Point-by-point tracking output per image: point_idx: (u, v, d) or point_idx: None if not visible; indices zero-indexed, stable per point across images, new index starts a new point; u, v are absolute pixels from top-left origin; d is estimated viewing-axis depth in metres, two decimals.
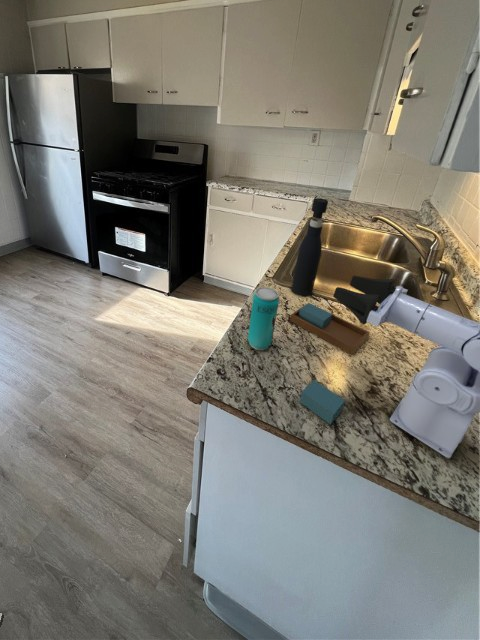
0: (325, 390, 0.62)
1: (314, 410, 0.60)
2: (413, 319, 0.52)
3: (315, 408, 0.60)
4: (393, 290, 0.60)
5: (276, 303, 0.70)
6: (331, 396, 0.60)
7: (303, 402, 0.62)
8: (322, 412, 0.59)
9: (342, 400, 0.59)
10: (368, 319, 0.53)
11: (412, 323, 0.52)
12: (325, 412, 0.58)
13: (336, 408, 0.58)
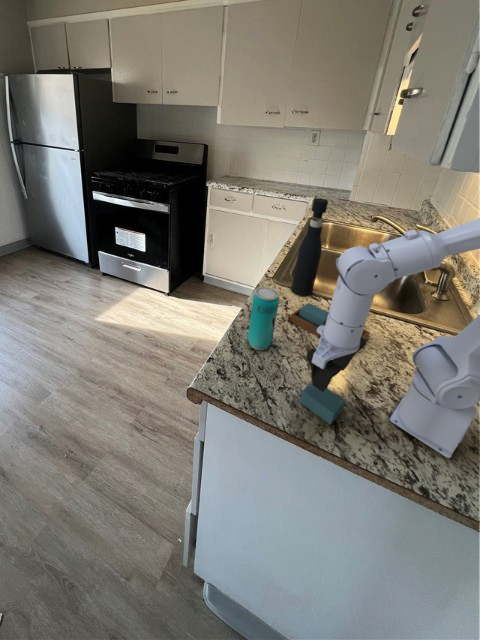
0: (325, 390, 0.62)
1: (314, 410, 0.60)
2: (333, 325, 0.51)
3: (315, 408, 0.60)
4: None
5: (276, 303, 0.70)
6: (331, 396, 0.60)
7: (303, 402, 0.62)
8: (322, 412, 0.59)
9: (342, 400, 0.59)
10: (319, 366, 0.50)
11: (337, 327, 0.51)
12: (325, 412, 0.58)
13: (336, 408, 0.58)
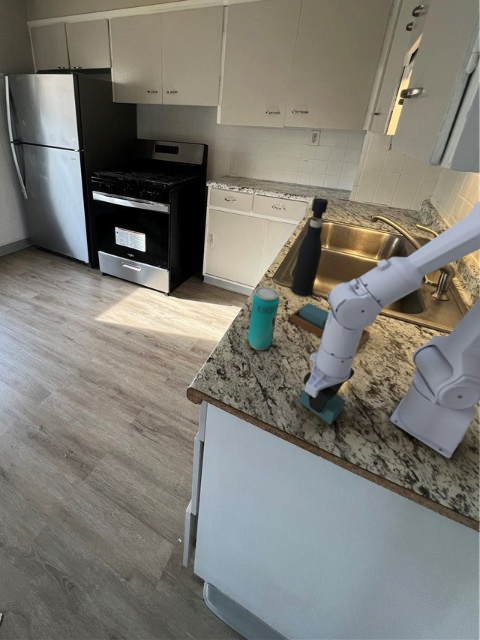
0: None
1: (314, 410, 0.60)
2: (325, 355, 0.54)
3: None
4: None
5: (276, 303, 0.70)
6: None
7: (303, 402, 0.62)
8: (322, 412, 0.59)
9: (342, 400, 0.59)
10: (311, 395, 0.53)
11: (329, 358, 0.54)
12: (325, 412, 0.58)
13: (336, 408, 0.58)
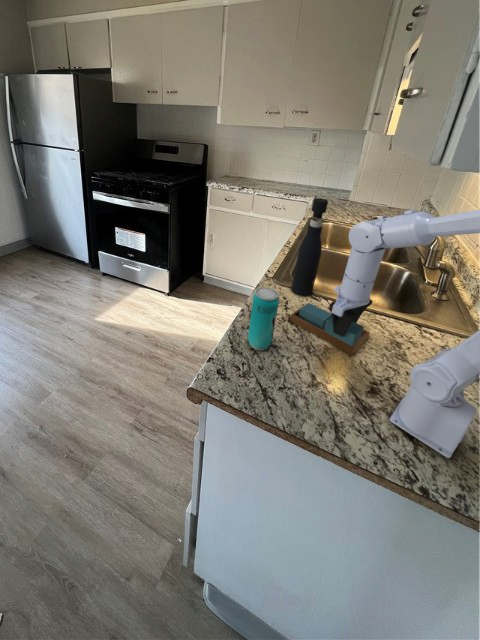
0: None
1: (337, 336, 0.69)
2: (349, 282, 0.63)
3: None
4: None
5: (276, 303, 0.70)
6: (351, 324, 0.69)
7: (327, 330, 0.71)
8: (344, 336, 0.68)
9: (361, 326, 0.69)
10: (338, 315, 0.62)
11: (352, 284, 0.63)
12: (347, 335, 0.67)
13: (357, 331, 0.67)
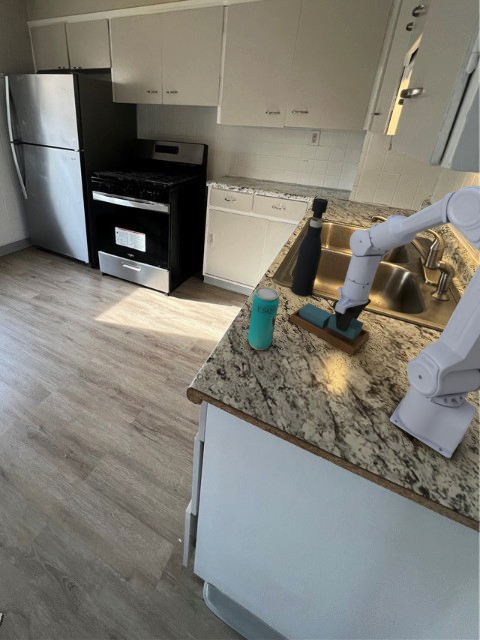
0: None
1: (339, 331, 0.78)
2: (350, 284, 0.72)
3: None
4: None
5: (276, 303, 0.70)
6: (352, 320, 0.78)
7: (330, 326, 0.80)
8: (346, 331, 0.77)
9: (361, 322, 0.78)
10: (340, 312, 0.71)
11: (353, 285, 0.72)
12: (348, 330, 0.76)
13: (357, 327, 0.76)
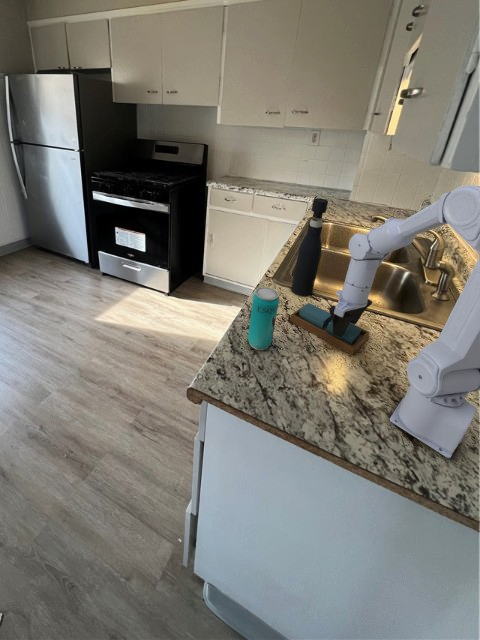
0: None
1: (338, 336, 0.79)
2: (349, 287, 0.73)
3: None
4: None
5: (276, 303, 0.70)
6: (351, 326, 0.79)
7: (329, 332, 0.81)
8: (344, 337, 0.78)
9: (359, 328, 0.78)
10: (339, 315, 0.72)
11: (352, 288, 0.72)
12: (346, 336, 0.77)
13: (355, 333, 0.77)
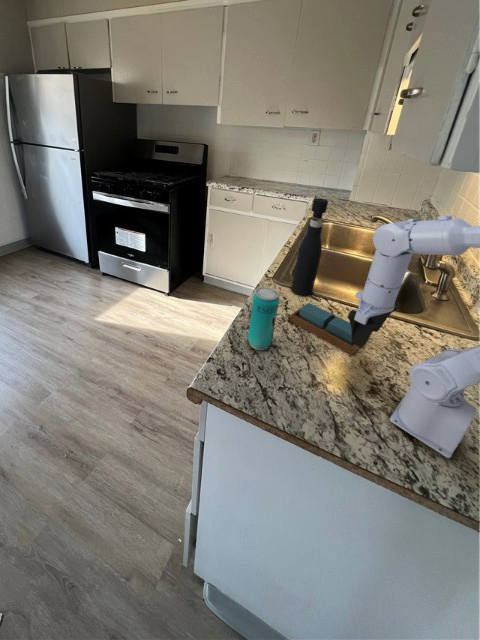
0: (346, 322, 0.80)
1: (338, 336, 0.79)
2: (373, 288, 0.60)
3: (338, 334, 0.79)
4: None
5: (276, 303, 0.70)
6: None
7: (329, 332, 0.81)
8: (344, 337, 0.78)
9: None
10: (361, 322, 0.59)
11: (376, 289, 0.59)
12: (346, 336, 0.77)
13: None
